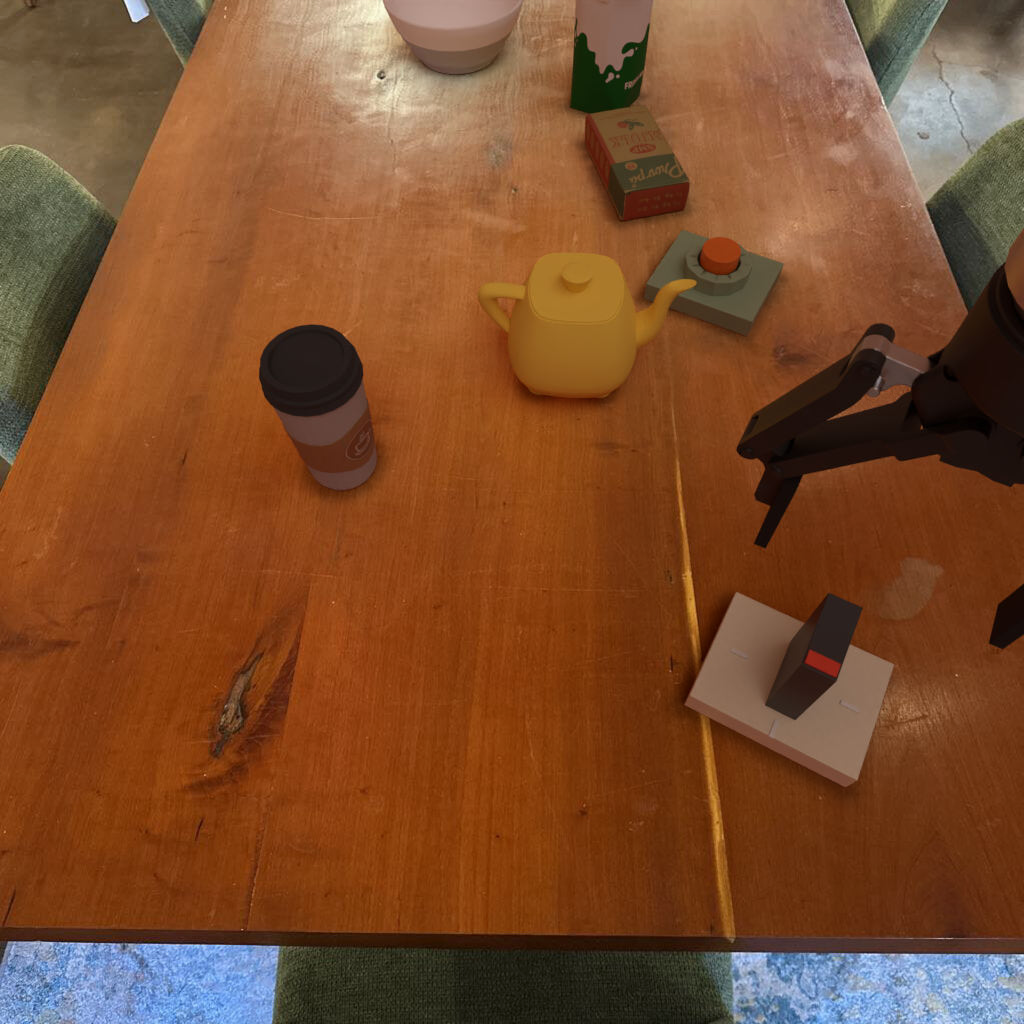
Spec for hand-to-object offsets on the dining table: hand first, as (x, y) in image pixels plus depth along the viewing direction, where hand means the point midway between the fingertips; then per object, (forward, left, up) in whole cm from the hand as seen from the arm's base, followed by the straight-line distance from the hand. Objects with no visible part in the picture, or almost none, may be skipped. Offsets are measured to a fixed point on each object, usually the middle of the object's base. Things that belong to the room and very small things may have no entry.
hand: (878, 576), depth 45 cm
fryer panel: (0, +1, -19) cm, 19 cm away
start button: (+22, -39, -16) cm, 48 cm away
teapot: (+30, -22, -20) cm, 42 cm away
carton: (+38, -53, -20) cm, 68 cm away
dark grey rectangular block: (0, +1, -17) cm, 17 cm away
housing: (+22, -39, -19) cm, 49 cm away
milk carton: (+48, -66, -20) cm, 84 cm away
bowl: (+72, -67, -20) cm, 100 cm away
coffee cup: (+44, 0, -20) cm, 48 cm away
